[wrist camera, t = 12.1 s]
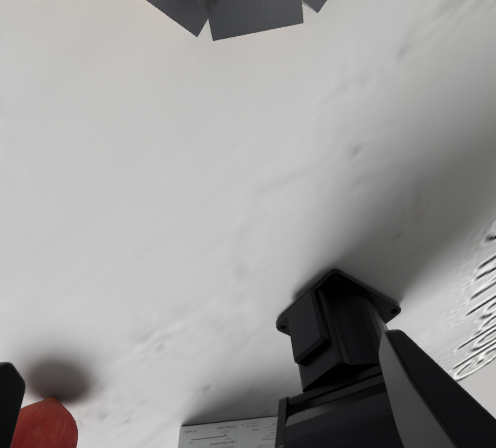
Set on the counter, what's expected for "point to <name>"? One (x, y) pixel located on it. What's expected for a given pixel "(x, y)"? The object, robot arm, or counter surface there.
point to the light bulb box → (230, 434)
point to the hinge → (235, 14)
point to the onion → (45, 426)
